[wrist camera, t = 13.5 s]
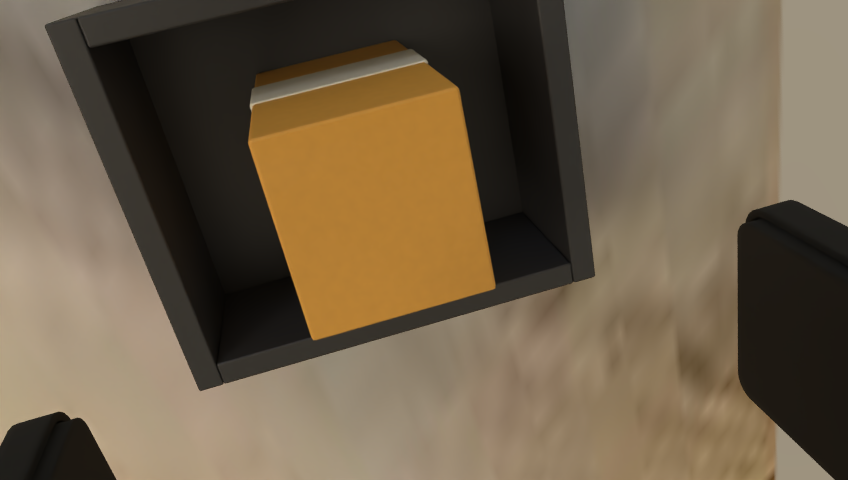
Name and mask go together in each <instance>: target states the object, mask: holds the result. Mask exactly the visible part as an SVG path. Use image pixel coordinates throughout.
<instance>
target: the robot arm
mask: <svg viewBox="0 0 848 480" xmlns="http://www.w3.org/2000/svg"><path fill="white" fill-rule="evenodd" d="M738 375H739V380H740V383H741V385H742V388H743V390H744V391H745V393H746V394H747V396H748V397H749V398H750V399H751V400H752V401H753V402H754V403H755V404H756V405H757V406H758V407H759V408H760V409H761V410H763V411H764V412H765V413H766V414H767V415H768V416H769V417H770V418H771V419H772V420H773V421H774V422H775V423H776V424H777V425H778V426H779V427H780V428H781V429H782V430H783V431H784V432H786V433H787V434H788V435H789V436H790V437H791V438H792V439H793V440H794V441H795V442H796V443H797V444H798V445H799V446H800V447H801V448H802V449H803V450H804V451H805V452H806V453H807V454H809V455H810V456H811V457H812V458H813V459H814V460H815V461H816V462H817V463H818V464H819V465H820V466H821V467H822V468H823V469H824V470H825V471H826V472H827V473H828V474H829V475H830V476H832V477H833V478H834V479H835V480H848V227H847V226H845V225H843V224H841V223H839V222H837V221H835V220H833V219H831V218H829V217H827V216H825V215H823V214H821V213H819V212H817V211H815V210H813V209H811V208H809V207H807V206H805V205H803V204H801V203H799V202H797V201H794V200H788V201H784V202H781V203H777V204H774V205H770V206H767V207H763V208H760V209H756V210H753V211H752V212H750V213H749V214H748V217H747V219H746V223H744V224H742V225H741V226H740V228H739V230H738ZM0 480H116V478H115V476H114V474H113V472H112V470H111V469H110V467H109V465H108V463H107V461H106V459H105V457H104V456H103V454H102V452H101V450H100V448H99V446H98V444H97V442H96V441H95V439H94V437H93V435H92V433H91V431H90V429H89V428H88V426H87V424H86V423H85V421H83V420H82V419H81V418H75V419H72V420H71V419H70V418H69V417H68V416H67V415H66V414H65V413H63V412H56V413H53V414H49V415H46V416H42V417H39V418H35V419H32V420H28V421H25V422H22V423H18V424H16V425H13V426H12V427H11V428H10V429H9V431H8V432H7V434H6V436H5V438H4V440H3V442H2V444H1V446H0Z"/></svg>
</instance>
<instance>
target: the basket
mask: <svg viewBox="0 0 848 480" xmlns="http://www.w3.org/2000/svg"><path fill="white" fill-rule="evenodd" d="M45 28H46V31H47V33H48V35H49V38H50V40H51V42H52V45H53V47H54V49H55V52H56V54H57V56H58V59H59V61H60V64H61V66H62V68H63V71H64V73H65V75H66V78H67V80H68V82H69V85H70V87H71V89H72V92H73V94H74V97H75V99H76V101H77V104H78V106H79V108H80V111H81V113H82V115H83V118H84V120H85V122H86V125H87V127H88V130H89V132H90V134H91V137H92V139H93V141H94V144H95V146H96V148H97V151H98V153H99V155H100V158H101V160H102V162H103V165H104V167H105V170H106V172H107V174H108V177H109V179H110V181H111V184H112V186H113V188H114V191H115V193H116V195H117V198H118V200H119V203H120V205H121V207H122V210H123V212H124V214H125V217H126V219H127V221H128V224H129V226H130V228H131V231H132V233H133V235H134V238H135V240H136V243H137V245H138V247H139V250H140V252H141V254H142V257H143V259H144V261H145V264H146V266H147V268H148V271H149V273H150V276H151V278H152V280H153V283H154V285H155V287H156V290H157V292H158V294H159V297H160V299H161V301H162V304H163V306H164V309H165V311H166V313H167V316H168V318H169V320H170V323H171V325H172V327H173V330H174V332H175V334H176V337H177V339H178V341H179V344H180V346H181V349H182V351H183V353H184V356H185V358H186V360H187V363H188V365H189V367H190V370H191V372H192V374H193V377H194V379H195V382H196V384H197V386H198V389H199V390H200V391H202V390H206V389H209V388H213V387H216V386H219V385H222V384H223V382H224V383H229V382H232V381H236V380H239V379H243V378H246V377H250V376H253V375H257V374H260V373H263V372H267V371H270V370H274V369H277V368H281V367H284V366H288V365H291V364H295V363H298V362H301V361H305V360H308V359H312V358H315V357H319V356H322V355H326V354H329V353H333V352H336V351H339V350H343V349H346V348H350V347H353V346H357V345H360V344H364V343H367V342H371V341H374V340H377V339H381V338H384V337H388V336H391V335H395V334H398V333H402V332H405V331H409V330H412V329H415V328H419V327H422V326H426V325H429V324H433V323H436V322H440V321H443V320H447V319H450V318H453V317H457V316H460V315H464V314H467V313H471V312H474V311H478V310H481V309H485V308H488V307H491V306H495V305H498V304H502V303H505V302H509V301H512V300H516V299H519V298H523V297H526V296H529V295H533V294H536V293H540V292H543V291H547V290H550V289H554V288H557V287H560V286H564V285H567V284H571V283H573V282H578V281H581V280H585V279H588V278H592V277H594V276H595V270H594V262H593V253H592V245H591V236H590V227H589V219H588V210H587V201H586V193H585V184H584V175H583V167H582V158H581V149H580V141H579V132H578V124H577V115H576V106H575V98H574V89H573V80H572V72H571V63H570V54H569V46H568V37H567V28H566V20H565V11H564V3H563V0H123V1H118V2H114V3H110V4H105V5H101V6H97V7H94V8H91V9H88V10H85V11H83V12H80V13H77V14H74V15H71V16H68V17H65V18H62V19H60V20H57V21H54V22H51V23H48V24H46V25H45ZM392 40H396V41H398V42H399V43H400V44H402V45H403V46H404V47H406V48H407V49H412V50H414V51H415V52H416V53H418V54H419V55H421V56H422V57H423V58H425V59H426V60H427V61H428V65H429V66H431V67H432V68H433V69H435V70H436V71H437V72H439V73H440V74H441V75H443V76H444V77H445V78H447V79H448V80H449V81H451V82H452V83H453V84H454V85H456V86H457V87H458V88H459V91H460V96H461V101H462V107H463V112H464V117H465V123H466V128H467V134H468V139H469V144H470V150H471V155H472V160H473V166H474V171H475V177H476V182H477V187H478V193H479V198H480V204H481V209H482V214H483V220H484V225H485V230H486V236H487V241H488V247H489V252H490V257H491V263H492V268H493V273H494V279H495V284H496V286H495V289H493V290H490V291H486V292H483V293H479V294H476V295H472V296H469V297H465V298H462V299H458V300H455V301H451V302H448V303H444V304H441V305H437V306H434V307H430V308H427V309H423V310H420V311H416V312H413V313H410V314H406V315H403V316H399V317H396V318H392V319H389V320H385V321H382V322H378V323H375V324H371V325H368V326H364V327H361V328H357V329H354V330H350V331H347V332H343V333H340V334H336V335H333V336H329V337H326V338H322V339H319V340H313V339H312V338H311V335H310V332H309V329H308V326H307V323H306V320H305V316H304V313H303V310H302V307H301V304H300V301H299V298H298V295H297V292H296V289H295V286H294V283H293V280H292V277H291V274H290V271H289V268H288V264H287V261H286V258H285V255H284V252H283V249H282V246H281V243H280V240H279V237H278V234H277V231H276V228H275V225H274V222H273V219H272V215H271V212H270V209H269V206H268V203H267V200H266V197H265V194H264V191H263V188H262V185H261V182H260V179H259V176H258V173H257V170H256V167H255V163H254V160H253V157H252V154H251V151H250V148H249V145H248V139H249V130H250V122H251V114H252V112H251V109H250V100H251V93H252V89H253V88H255V80H256V75H257V74H258V73H262V72H267V71H271V70H275V69H279V68H283V67H287V66H291V65H295V64H299V63H303V62H307V61H311V60H315V59H319V58H323V57H327V56H331V55H335V54H340V53H344V52H348V51H352V50H356V49H360V48H364V47H368V46H372V45H376V44H380V43H384V42H388V41H392Z"/></svg>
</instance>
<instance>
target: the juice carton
mask: <svg viewBox="0 0 848 480" xmlns="http://www.w3.org/2000/svg"><path fill="white" fill-rule="evenodd" d="M250 109H251V112H252V114H251V122H250V130H249V139H248V145H249V148H250V151H251V154H252V157H253V160H254V163H255V167H256V170H257V173H258V176H259V179H260V182H261V185H262V188H263V191H264V194H265V197H266V200H267V203H268V206H269V209H270V212H271V215H272V219H273V222H274V225H275V228H276V231H277V234H278V237H279V240H280V243H281V246H282V249H283V252H284V255H285V258H286V261H287V264H288V268H289V271H290V274H291V277H292V280H293V283H294V286H295V289H296V292H297V295H298V298H299V301H300V304H301V307H302V310H303V313H304V316H305V320H306V323H307V326H308V329H309V332H310V335H311V338H312V339H313V340H319V339H322V338H326V337H329V336H333V335H336V334H340V333H343V332H347V331H350V330H354V329H357V328H361V327H364V326H368V325H371V324H375V323H378V322H382V321H385V320H389V319H392V318H396V317H399V316H403V315H406V314H410V313H413V312H416V311H420V310H423V309H427V308H430V307H434V306H437V305H441V304H444V303H448V302H451V301H455V300H458V299H462V298H465V297H469V296H472V295H476V294H479V293H483V292H486V291H490V290H493V289H495V286H496V284H495V279H494V273H493V268H492V263H491V257H490V252H489V247H488V241H487V236H486V230H485V225H484V220H483V214H482V209H481V204H480V198H479V193H478V187H477V182H476V177H475V171H474V166H473V160H472V155H471V150H470V144H469V139H468V134H467V128H466V123H465V117H464V112H463V107H462V101H461V96H460V91H459V88H458V87H457V86H456V85H454V84H453V83H452V82H451V81H449V80H448V79H447V78H445V77H444V76H443V75H441V74H440V73H439V72H437V71H436V70H435V69H433V68H432V67H431V66H429V65H428V61H427V60H426V59H425V58H423V57H422V56H421V55H419V54H418V53H416V52H415V51H414V50H412V49H407V48H406V47H404V46H403V45H402V44H400V43H399V42H398V41H396V40H392V41H388V42H384V43H380V44H376V45H372V46H368V47H364V48H360V49H356V50H352V51H348V52H344V53H340V54H335V55H331V56H327V57H323V58H319V59H315V60H311V61H307V62H303V63H299V64H295V65H291V66H287V67H283V68H279V69H275V70H271V71H267V72H262V73H258V74H257V75H256V80H255V88H253V89H252V93H251V100H250Z"/></svg>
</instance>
